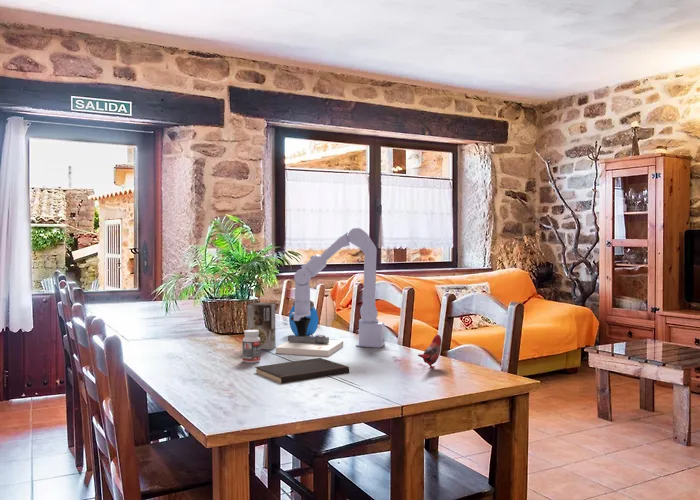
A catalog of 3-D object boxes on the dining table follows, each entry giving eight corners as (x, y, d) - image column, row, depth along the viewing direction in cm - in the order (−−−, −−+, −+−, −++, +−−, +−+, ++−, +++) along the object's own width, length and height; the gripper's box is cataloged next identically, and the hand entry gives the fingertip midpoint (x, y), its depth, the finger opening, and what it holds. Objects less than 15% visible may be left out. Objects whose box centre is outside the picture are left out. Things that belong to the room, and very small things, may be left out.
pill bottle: (256, 363, 185) (256, 332, 185) (239, 362, 186) (239, 331, 186) (262, 359, 191) (262, 329, 190) (246, 359, 192) (246, 329, 192)
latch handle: (329, 342, 211) (329, 335, 211) (326, 343, 207) (326, 337, 207) (290, 340, 214) (290, 333, 214) (287, 341, 211) (287, 335, 211)
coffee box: (276, 346, 214) (276, 302, 214) (271, 349, 208) (272, 304, 207) (251, 345, 215) (251, 302, 214) (246, 349, 208) (247, 304, 208)
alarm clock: (318, 337, 233) (318, 300, 233) (305, 339, 230) (306, 301, 229) (300, 333, 244) (300, 297, 243) (288, 334, 240) (288, 298, 240)
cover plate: (343, 346, 215) (343, 340, 215) (328, 356, 197) (328, 350, 197) (294, 343, 220) (294, 337, 220) (275, 353, 202) (275, 347, 202)
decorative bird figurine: (444, 365, 184) (445, 333, 184) (422, 376, 169) (422, 342, 169) (436, 364, 186) (436, 333, 186) (413, 375, 171) (413, 341, 170)
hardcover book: (255, 374, 173) (255, 366, 173) (320, 364, 187) (320, 357, 187) (281, 385, 160) (281, 377, 160) (349, 374, 174) (349, 366, 174)
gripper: (298, 298, 225) (297, 333, 225) (285, 303, 211) (285, 340, 211) (315, 299, 224) (315, 334, 224) (304, 303, 209) (304, 341, 210)
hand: (302, 337), depth 217 cm, fingers closed
